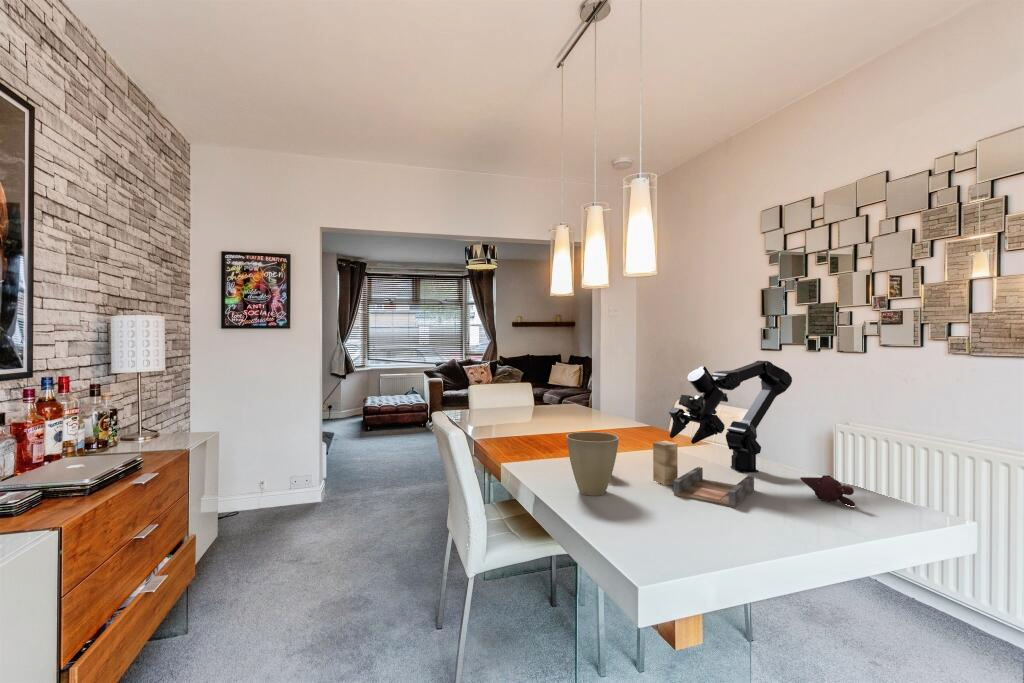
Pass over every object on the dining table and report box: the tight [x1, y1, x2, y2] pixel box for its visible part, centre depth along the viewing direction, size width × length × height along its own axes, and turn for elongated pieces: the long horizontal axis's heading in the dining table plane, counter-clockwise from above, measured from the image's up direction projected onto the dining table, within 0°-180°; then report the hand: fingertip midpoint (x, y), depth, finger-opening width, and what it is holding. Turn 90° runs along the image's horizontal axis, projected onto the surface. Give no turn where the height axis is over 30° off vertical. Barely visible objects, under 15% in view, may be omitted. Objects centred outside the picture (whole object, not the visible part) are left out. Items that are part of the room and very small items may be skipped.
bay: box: [673, 466, 755, 509], centre depth 134 cm, size 19×16×4 cm
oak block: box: [652, 440, 679, 486], centre depth 144 cm, size 5×5×12 cm
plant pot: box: [565, 431, 619, 496], centre depth 135 cm, size 15×15×16 cm
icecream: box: [800, 475, 856, 507], centre depth 127 cm, size 7×7×15 cm
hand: (681, 440), depth 146 cm, fingers open, 9 cm apart
